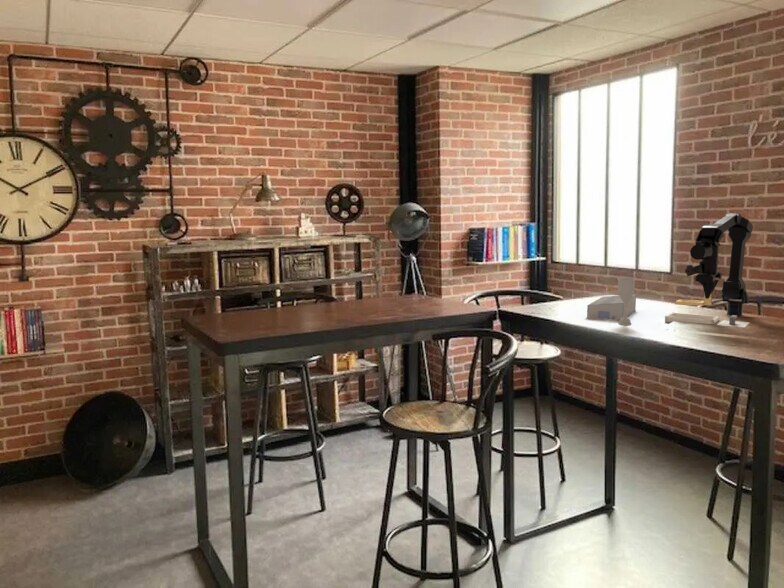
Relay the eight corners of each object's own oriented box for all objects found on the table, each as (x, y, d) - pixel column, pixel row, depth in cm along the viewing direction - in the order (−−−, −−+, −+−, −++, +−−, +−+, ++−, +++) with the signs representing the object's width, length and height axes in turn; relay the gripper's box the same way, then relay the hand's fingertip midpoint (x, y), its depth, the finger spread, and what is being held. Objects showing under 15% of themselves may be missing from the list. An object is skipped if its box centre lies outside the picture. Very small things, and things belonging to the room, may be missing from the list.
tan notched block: (709, 306, 252) (710, 294, 252) (675, 304, 260) (675, 292, 259) (712, 304, 258) (713, 292, 257) (679, 302, 265) (679, 290, 264)
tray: (672, 318, 270) (672, 312, 269) (719, 322, 259) (719, 316, 259) (664, 322, 261) (665, 316, 260) (713, 326, 250) (713, 320, 250)
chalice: (621, 325, 254) (623, 279, 251) (611, 323, 260) (613, 278, 258) (638, 324, 256) (640, 279, 253) (627, 322, 262) (629, 277, 260)
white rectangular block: (722, 322, 259) (723, 312, 259) (749, 325, 253) (750, 314, 253) (716, 327, 249) (716, 317, 248) (744, 330, 243) (744, 319, 243)
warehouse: (602, 308, 299) (602, 292, 298) (635, 311, 292) (636, 294, 291) (587, 318, 273) (587, 300, 272) (622, 321, 266) (623, 302, 265)
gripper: (692, 256, 266) (690, 294, 268) (682, 259, 251) (680, 299, 253) (722, 257, 259) (720, 296, 261) (713, 260, 244) (711, 301, 246)
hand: (707, 298), depth 256 cm, fingers closed on tan notched block
